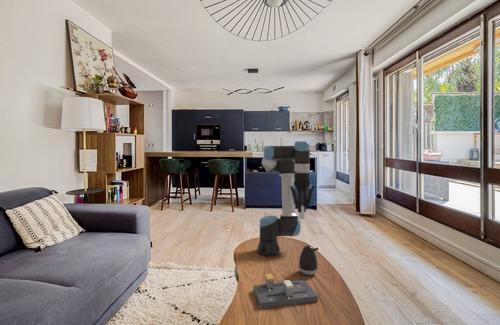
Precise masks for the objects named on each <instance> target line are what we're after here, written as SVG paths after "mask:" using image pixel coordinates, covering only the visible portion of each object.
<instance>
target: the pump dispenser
mask: <svg viewBox="0 0 500 325" xmlns="http://www.w3.org/2000/svg"><path fill="white" fill-rule="evenodd" d="M318 250H319V247H315V248H314V247H312V246H311V245H309V244H308V245H305V246H304V247H303V248H302V250H301V252H300V256H299V258H298V259H299V261H298V268H299V270H300V272H301V273H302V274H304V275H306V276H313V275H315V274H316V273H317V271H318V268H319V264H318V263H319V261H318V258H317V255H316V251H318Z"/></svg>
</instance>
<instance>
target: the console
mask: <svg viewBox="0 0 500 325" xmlns="http://www.w3.org/2000/svg"><path fill="white" fill-rule="evenodd" d="M290 281H291V283H292V284H293V296H286V294H285V293H284V291H283V281H281V282H280V281H279V282H274V288H270V289H268V288H267V286H266V284H265V283H264V284H263V283H261V284H254V285H253V286H252V287H253V288H252V289H253V294H254V295H255V298H256V300H257V303H258V305H259V308H260V309H267V308H269V309H270V308H276V307H283V306H285V307H286V306H292V305H299V304H307V303H308V304H309V303H310V304H311V303H315V302H317V303H318V302H319V296H318V295H317V293H316V292H315V290H313V288H312V287H311V285H309V283H308V282H307V281H306V280H305V279H299V280H290Z"/></svg>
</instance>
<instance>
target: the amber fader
mask: <svg viewBox="0 0 500 325" xmlns="http://www.w3.org/2000/svg"><path fill="white" fill-rule="evenodd" d="M274 283H275V278H274V276H273V274H272V273H264V284H266V286H267V288H268V289H270V288H274Z"/></svg>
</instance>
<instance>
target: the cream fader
mask: <svg viewBox="0 0 500 325" xmlns="http://www.w3.org/2000/svg"><path fill="white" fill-rule="evenodd" d="M291 281H292V280H289V279H286V280H283V281H282V282H283V291H284V293H285V294H286V296H293V284H292V283H291Z"/></svg>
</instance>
